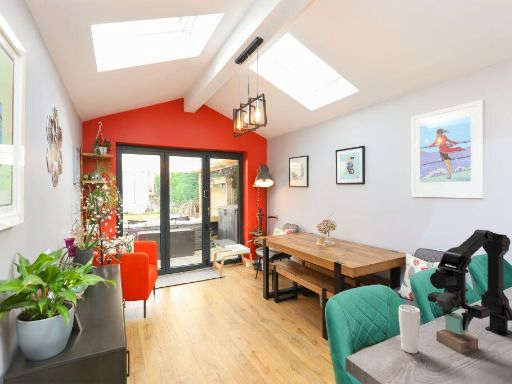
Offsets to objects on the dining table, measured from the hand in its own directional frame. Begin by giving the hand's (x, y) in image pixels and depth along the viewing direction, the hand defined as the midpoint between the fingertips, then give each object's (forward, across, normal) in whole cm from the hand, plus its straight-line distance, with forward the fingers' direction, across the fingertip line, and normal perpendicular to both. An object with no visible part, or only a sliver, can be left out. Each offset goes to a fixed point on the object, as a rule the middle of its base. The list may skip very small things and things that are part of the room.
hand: (456, 327), depth 102 cm
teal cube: (+1, 0, 0) cm, 1 cm away
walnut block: (+7, 0, 0) cm, 7 cm away
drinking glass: (+7, -5, -19) cm, 21 cm away
